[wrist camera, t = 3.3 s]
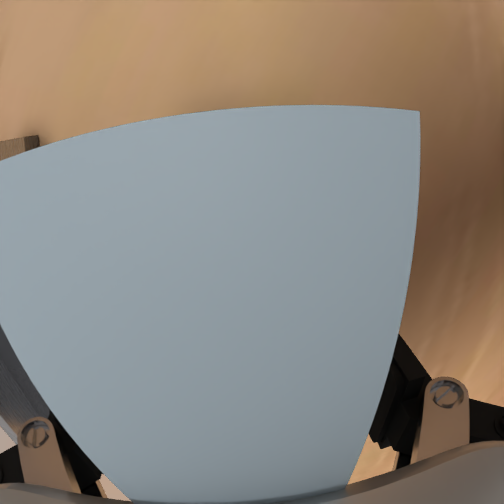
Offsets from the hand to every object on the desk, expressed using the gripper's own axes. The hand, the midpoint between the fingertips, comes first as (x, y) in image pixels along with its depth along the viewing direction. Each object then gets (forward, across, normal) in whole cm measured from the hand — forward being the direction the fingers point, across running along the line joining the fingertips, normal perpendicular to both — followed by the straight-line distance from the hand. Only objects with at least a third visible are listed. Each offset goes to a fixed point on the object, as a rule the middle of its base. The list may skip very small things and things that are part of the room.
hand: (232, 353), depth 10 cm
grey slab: (+3, 0, 0) cm, 3 cm away
